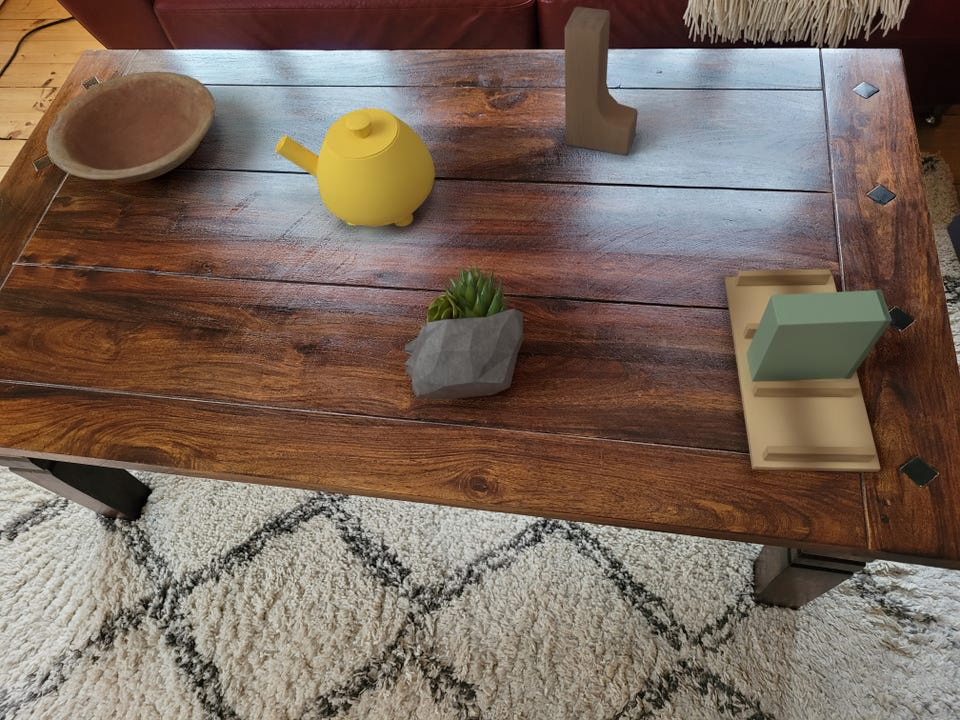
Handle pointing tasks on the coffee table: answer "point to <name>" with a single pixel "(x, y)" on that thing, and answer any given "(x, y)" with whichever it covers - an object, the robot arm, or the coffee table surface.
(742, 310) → the rack
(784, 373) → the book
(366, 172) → the teapot
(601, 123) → the wooden block
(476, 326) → the potted plant
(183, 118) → the bowl
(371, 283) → the coffee table surface
